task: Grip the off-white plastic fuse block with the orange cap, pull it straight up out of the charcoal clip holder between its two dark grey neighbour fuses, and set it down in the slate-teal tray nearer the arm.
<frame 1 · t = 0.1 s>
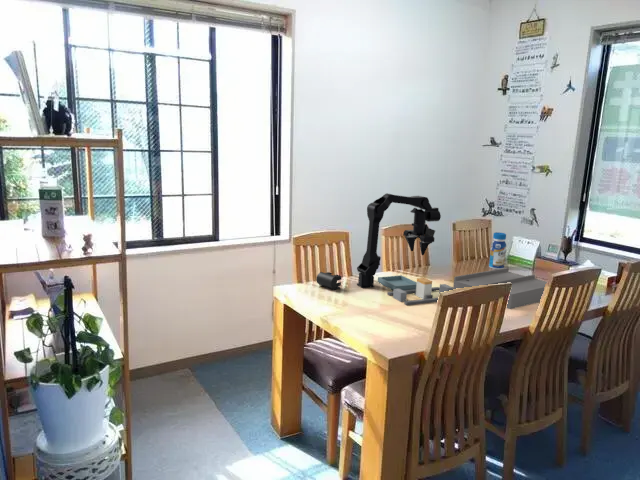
hand: (417, 253, 248), 15 cm above the table, fingers open, 9 cm apart
tray: (398, 285, 242), on the table
fuse holder: (423, 296, 226), on the table
beverage bottle: (496, 268, 286), on the table
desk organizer: (507, 294, 237), on the table
fuse: (423, 297, 226), resting in fuse holder
end cap: (328, 288, 235), on the table
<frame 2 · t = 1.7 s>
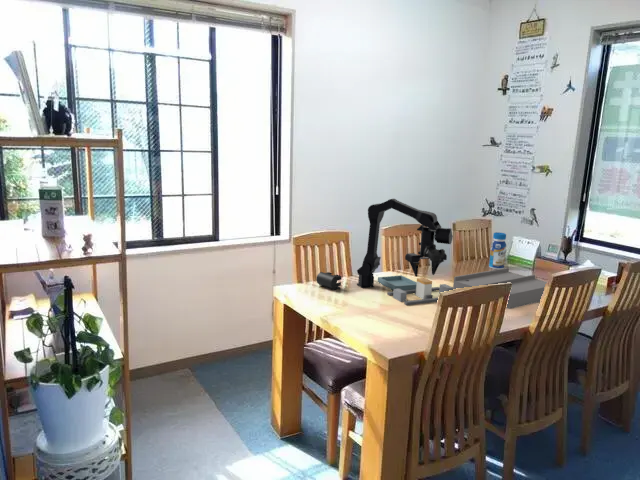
hand: (424, 275, 224), 10 cm above the table, fingers open, 9 cm apart
nothing on the table moved.
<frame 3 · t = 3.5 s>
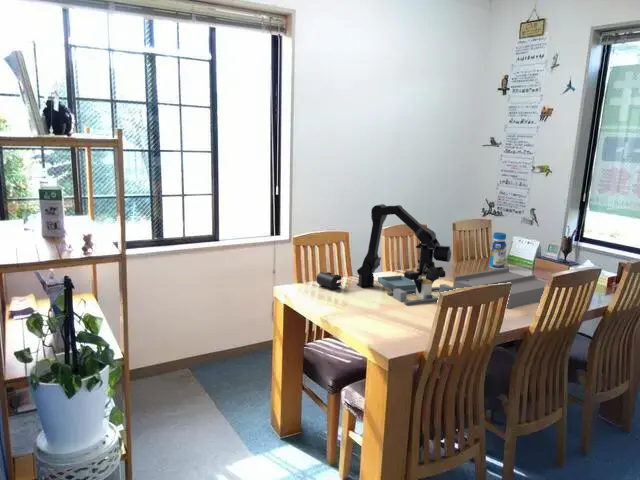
hand: (423, 292, 225), 2 cm above the table, fingers closed on fuse, 4 cm apart
fuse: (423, 296, 226), resting in fuse holder, touching gripper
everything else where it was.
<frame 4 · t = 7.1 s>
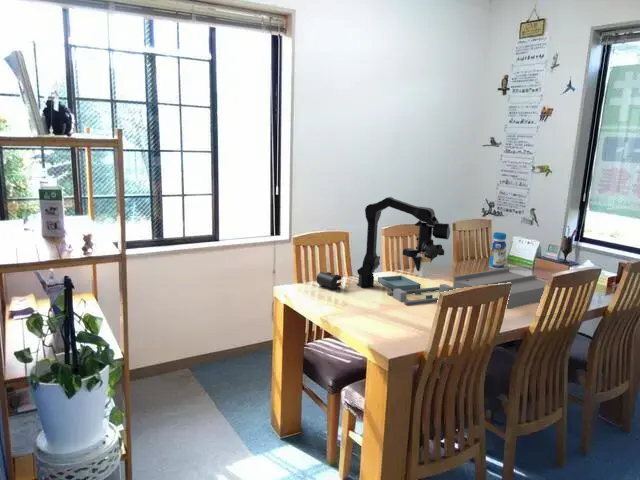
hand: (422, 270, 225), 12 cm above the table, fingers closed on fuse, 4 cm apart
fuse: (421, 275, 225), point 10 cm above the table, touching gripper
everything else where it was.
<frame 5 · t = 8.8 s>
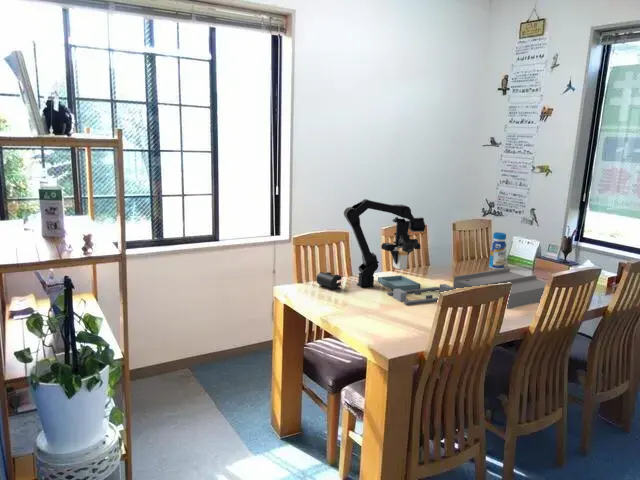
hand: (399, 263, 240), 11 cm above the table, fingers closed on fuse, 4 cm apart
fuse: (399, 267, 241), point 9 cm above the table, touching gripper
everything else where it was.
when the fingers open (4 cm above the table, at t = 10.5 s): fuse drops 2 cm, resting on tray.
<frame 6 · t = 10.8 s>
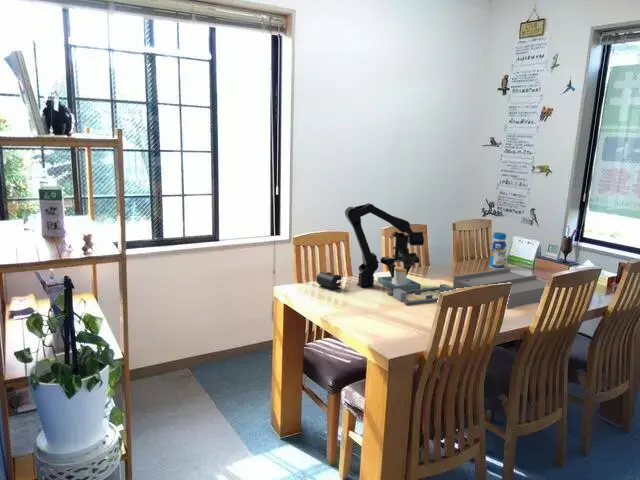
hand: (399, 277, 241), 4 cm above the table, fingers open, 7 cm apart
fuse: (398, 284, 242), point 1 cm above the table, touching tray
everything else where it was.
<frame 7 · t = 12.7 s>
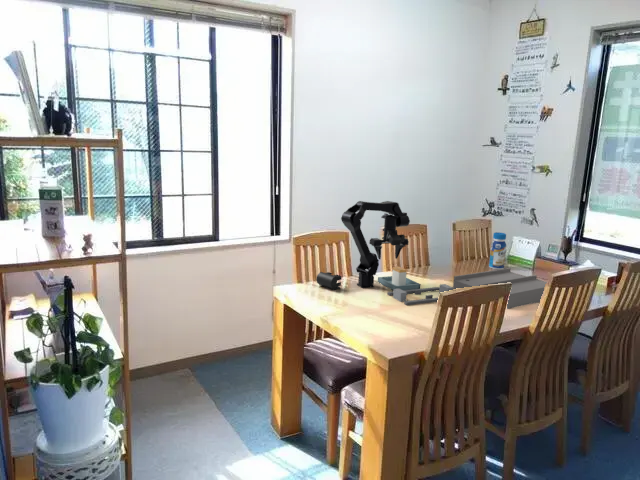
hand: (387, 258, 245), 12 cm above the table, fingers open, 9 cm apart
nothing on the table moved.
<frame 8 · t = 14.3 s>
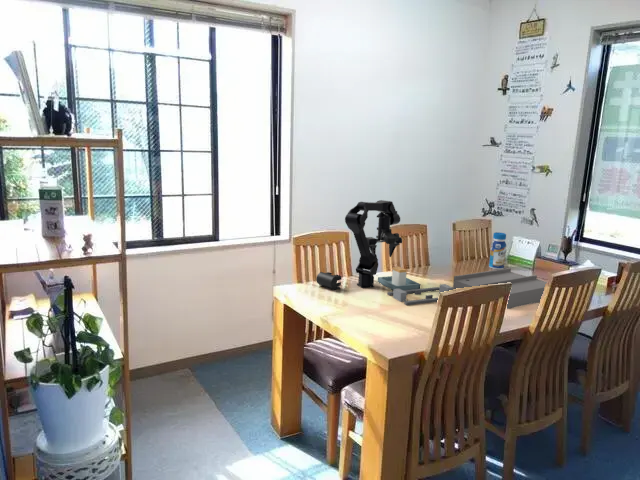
hand: (382, 257, 247), 12 cm above the table, fingers open, 9 cm apart
nothing on the table moved.
at the end: fuse inside the target area on the tray (0.0 cm from its centre), point 0.6 cm above the tray's base; the gripper is holding nothing; fuse moved 19.1 cm from its start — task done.
